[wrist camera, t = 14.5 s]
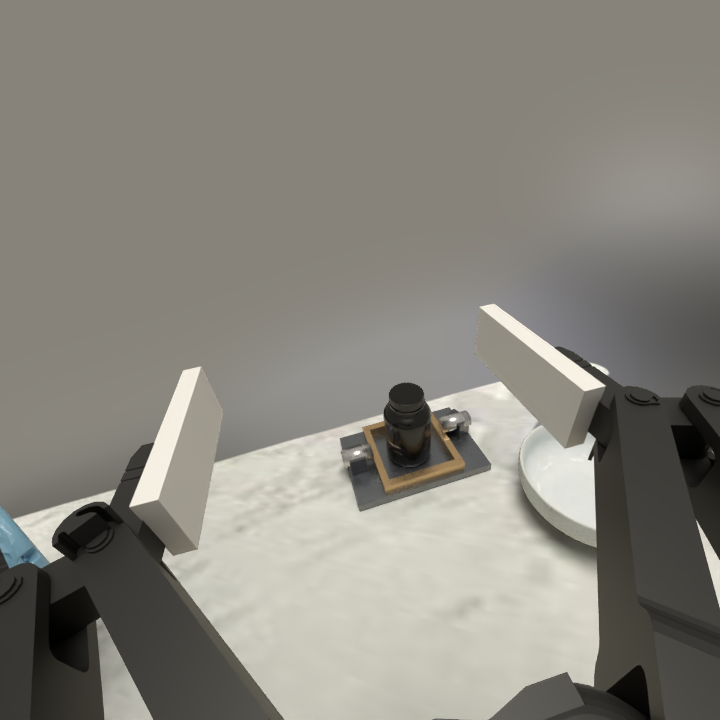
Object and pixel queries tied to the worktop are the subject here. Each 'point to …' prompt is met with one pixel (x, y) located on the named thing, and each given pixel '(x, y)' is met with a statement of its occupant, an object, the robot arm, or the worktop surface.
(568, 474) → the cereal bowl
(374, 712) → the worktop surface
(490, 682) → the worktop surface
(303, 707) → the worktop surface
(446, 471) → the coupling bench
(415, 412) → the supplement bottle
